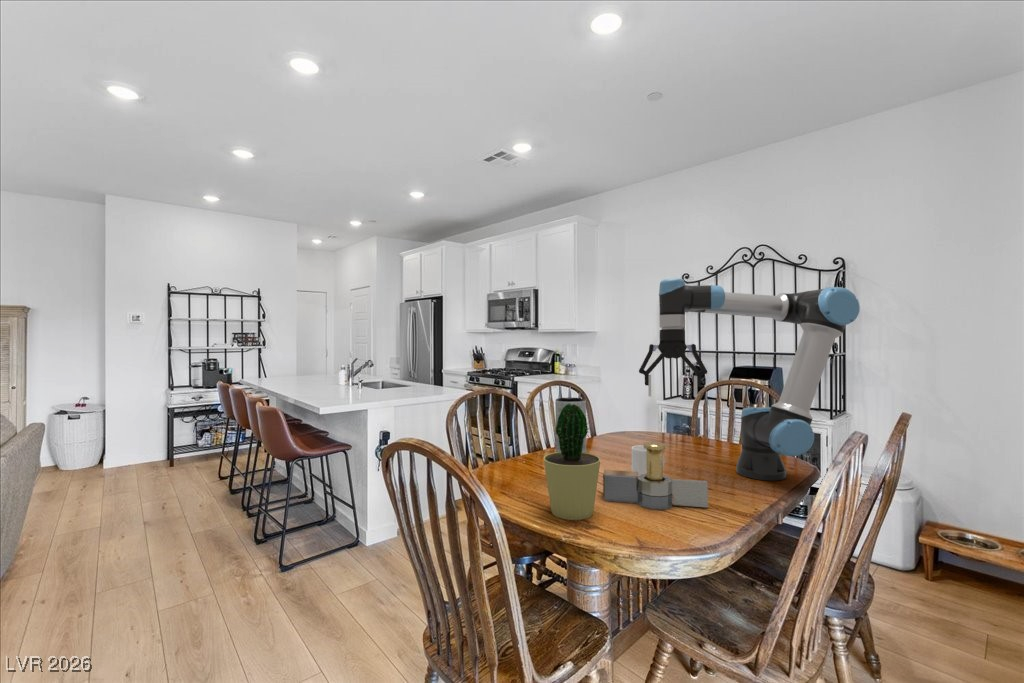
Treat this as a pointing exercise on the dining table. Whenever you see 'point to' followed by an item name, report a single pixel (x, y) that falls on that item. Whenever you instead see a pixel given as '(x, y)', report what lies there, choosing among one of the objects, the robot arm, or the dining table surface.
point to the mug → (639, 459)
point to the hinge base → (632, 493)
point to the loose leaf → (676, 490)
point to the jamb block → (615, 472)
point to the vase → (559, 406)
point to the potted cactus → (572, 468)
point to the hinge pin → (654, 460)
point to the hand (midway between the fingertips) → (672, 396)
